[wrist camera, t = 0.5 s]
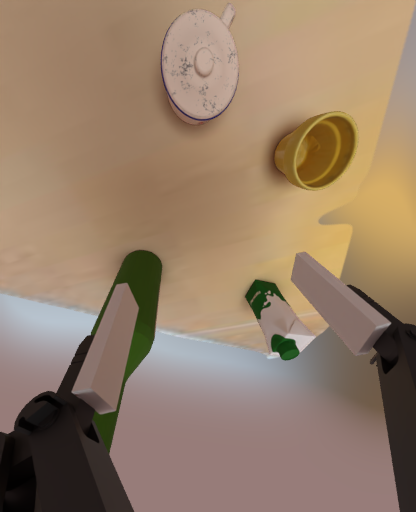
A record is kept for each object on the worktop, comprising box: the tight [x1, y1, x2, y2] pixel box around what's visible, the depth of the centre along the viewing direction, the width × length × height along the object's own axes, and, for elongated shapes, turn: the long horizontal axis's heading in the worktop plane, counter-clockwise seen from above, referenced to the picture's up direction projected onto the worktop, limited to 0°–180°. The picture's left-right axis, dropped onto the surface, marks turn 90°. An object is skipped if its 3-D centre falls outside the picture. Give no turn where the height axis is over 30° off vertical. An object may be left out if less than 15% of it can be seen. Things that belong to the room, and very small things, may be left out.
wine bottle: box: [91, 250, 162, 453], centre depth 29 cm, size 9×9×32 cm
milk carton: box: [245, 280, 316, 360], centre depth 45 cm, size 9×9×20 cm
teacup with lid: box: [161, 3, 239, 125], centre depth 22 cm, size 12×9×12 cm
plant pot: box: [274, 111, 358, 191], centre depth 30 cm, size 10×10×10 cm
